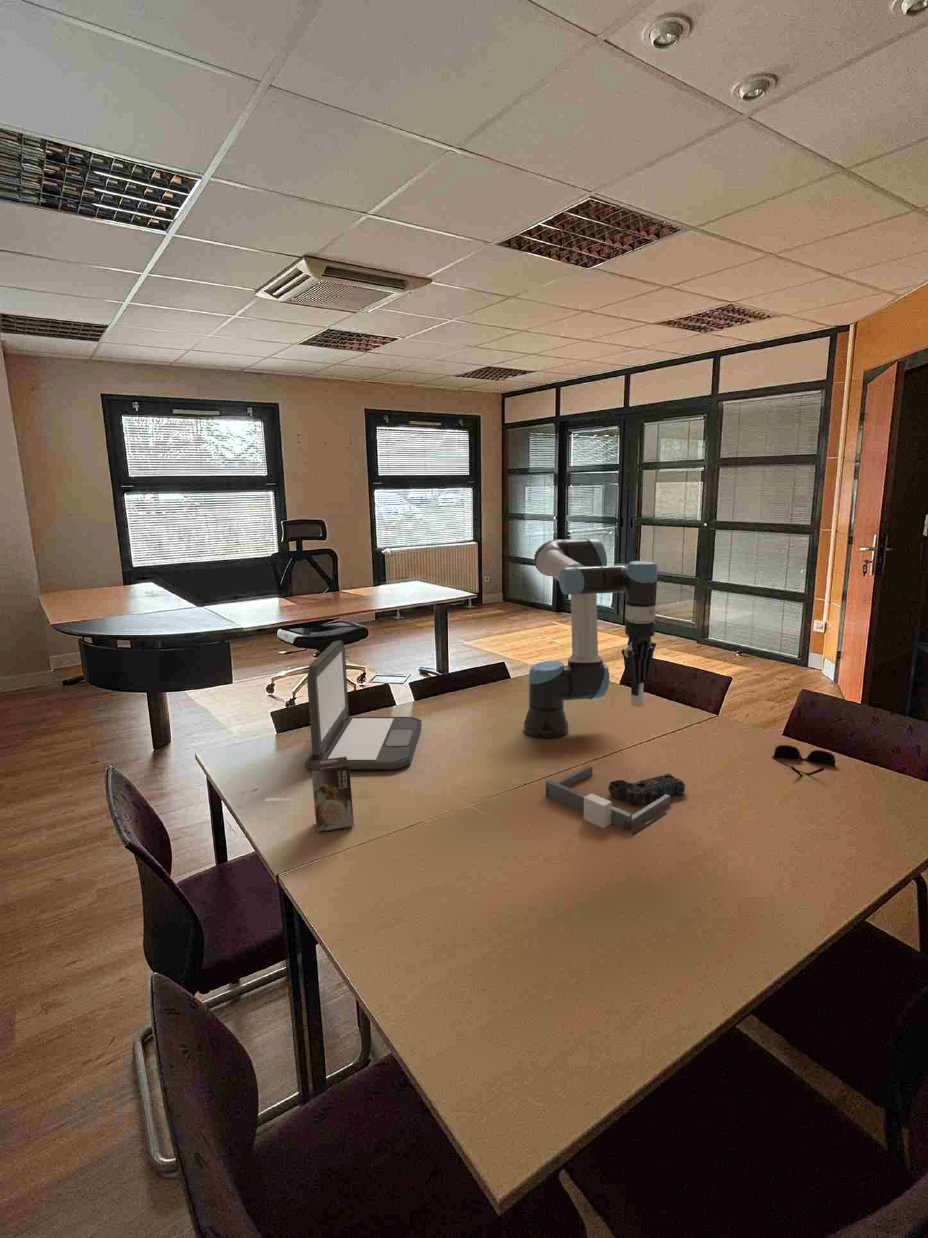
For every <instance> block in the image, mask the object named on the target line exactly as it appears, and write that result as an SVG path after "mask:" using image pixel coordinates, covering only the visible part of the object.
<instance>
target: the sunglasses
mask: <svg viewBox="0 0 928 1238" xmlns="http://www.w3.org/2000/svg"><path fill="white" fill-rule="evenodd" d="M771 757H772V760H774V761H775V762H776V761H777V762H778V761H779V762H778V763H781V764H782V765H784V766H786V767H788V766H789V767H788V768H789V769H791V770H792V771H793V772H795V773H796V774H797V775H798V776H800V777H802V776H801V775H807V776H812V775H815V774H818V773H821V772H823V771H825V767H824V766H822V767H821V768H818V769H816V770H813V771H811V772H804V771H800V770H798V769H796V768H795V767H794V766H793V765H791V766H790V765H789V764H786V763H785V762H782V761H781V760H779V759H783V760H784V759H785V760H793V759H800V760H799V761H805V762H810V763H815V764H816V763H817V764H819V765H826V766H831V767H836V758H835V755H834V754H833V753H831V752H829V751H825V750H819V749H817V750H812V751H811V752H809V754H808V755H807V757H806V758H803V757H802V755H801V752H800V750H799V748H797V747H796V746H793V745H788V744H780V745H777V746H776V748H775V749H774V754H773V755H771ZM801 772H802V773H801Z"/></svg>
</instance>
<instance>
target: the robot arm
mask: <svg viewBox="0 0 928 1238" xmlns="http://www.w3.org/2000/svg"><path fill="white" fill-rule="evenodd" d="M533 563H534V566H535V568H536V569H537V571H538V572H539V573H540V574H542V575H544V576H546V577H552V578H554V579H555V580H557V581H558V583H559V588H560V591H561V593H562V594H563V595H568V596H569V595H570V612H571V613H570V616H571V651H572V652H571V653H572V654H571V656H570V657H569V658H568V659H567V665H565V664H564V662H562V661H560V660H559V661H558V660H546V661H541V662H538V663H535V664H534V665H533V666H531V667H530V669H529V673H528V680H527V681H528V710H527V712H526V715H525V718H524V719H525V720H524V721H523V731H524V732H525V734H527V735H529V736H532V737H535V738H539V739H554V738H556V739H557V738H560V737H563V736H565V735H566V734H568V733H569V721H567V717H566V714H565V709H564V703H565V701H573V700H593V699H600V698H602V697H604V696H605V695H606V693H607V691H608V689H609V686H610V672H609V670H610V669H609V666H608V665H607V664H606V663H604V661H603V658H602V657H601V656H600V655H599V647H598V646H599V645H598V644H599V643H598V642H599V641H598V637H599V636H598V599H597V598H598V596H597V594H615V593H617V594H618V593H625V595H626V598H625V599H626V600H625V601H626V602H625V615H624V616H625V617H624V618H625V619H626V621H625V624H624V625H625V626H624V627H625V628H624V629H625V630H624V633H625V635H626V636H627V637H628V641H627V647H626V648H622V649H621V655H622V657H623V663H624V672H625V681H626V682H628V683H630V684H631V688H630V694H631V695H630V696H631V697H630V700H631V701H630V705H631V706H633V707H637V708H641V707H644V685H645V684H647V683H648V682H649V680H648V679H649V678H650V675H651V669H652V663H653V659H654V652H655V649H656V647H657V646H656V645H657V643H656V642H653V641H652V637H653V636H654V635H655V630H656V622H655V620H656V613H657V611H656V604H657V590H658V578H659V577H658V565H657V563H656V562H653V561H649V560H632V561H629V563H626V562H625V563H621V562H620V563H616V564H613V565H608V557H607V551H606V549H605V546H604V545H603V543H602V542H601V541H600V540H599V539H597V538H587V537H584V538H571V539H569V538H568V539H567V538H566V539H564V538H563V539H559V538H558V539H552V540H549V541H546V542H545V543H543V544H541V545H540V546H539V547H538V548H537V549H536V552H535V554H534V557H533Z"/></svg>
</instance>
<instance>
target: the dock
mask: <svg viewBox="0 0 928 1238" xmlns="http://www.w3.org/2000/svg"><path fill="white" fill-rule="evenodd" d="M593 768H594V767H593V766H592V765H590V764H589V765H587V766H585V767H583V768H581V769H579V770H577V771H574V772H572V773H571V774H568V775H567V776H564V777H562V778H561V779H559V780H556V781H553V780H552V779H548V780H546V781H545V796H547V797H548V798H550V799H553V800H555V801H558V802H560V803H562V804H565V805H567V806H569V807H571V808H573V809H575V810H577V811H580V812H582V813H583V820H584V821H586V822H589V823H591V824H593V825H595V826H597V827H600V828H602V829H604V828H606V827H608V826H609V825H613V826H616V827H618V828H619V829H620V828H621V829H622V830H625V831H627V832H629V831H630V830H632V829H634V828H635V827H637V826H638V825H639V824H641V823H642V822H644V821H646V820H647V819H649V818H651V817H652V816H653V815H654V814H657V813H658V812H660V811H661V810H663V809H664V808H665V807H668V806H669V805H670V804H671V797H670V795H667V794H665V795H664V796H662V797H661V798H659V799H657V800H656V801H653V802H650V804H649V803H648V805H646V806H645V807H643V808H642V809H640V810H638V811H637V812H635V813H633V814H632V813H630V812H628V811H625V810H623V809H621V808H618V807H616V806H613V805H612V804H613V803H612V802H613V801H611V800H609V799H606V798H604V797H601V796H598V795H596V794H594V793H589V794H588V795H587V794H584V793H583V792H580V791H577V790H575V789H573V788H570V787H572V786H573V785H575V784H577V783H580V782H581V781H583V780H584V779H585V780H586V779H587V778H588V777H590V776H593V774H594V773H593V770H594V769H593ZM666 814H667V812H666V811H665V810H664V811H663V812H661V813H660V814H658V815H656V816H654V817H653V818H652V819H650V820H649V821H646V822H645V823H644V824H642V825H641V826H639V827H638V828H636V829H635V830H634V831H631V833H630V834H631V836H635V835H637V834H638V833H640V832H641V831H642V830H644V829H646V828H647V827H649V826H650V825H652V824H653V823H655V822H656V821H658V820H659V819H661V818H662V817H663V816H665V815H666Z"/></svg>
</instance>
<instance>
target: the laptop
mask: <svg viewBox="0 0 928 1238" xmlns="http://www.w3.org/2000/svg"><path fill="white" fill-rule="evenodd" d="M346 659H347V658H346V649H345V646H344V643H343V640H335V641H334V640H333V641H332V643H330V644H329V646H327V648H325V649H324V650H323V651H322V652H321V653H320V654H318V656H317V657H316V658H315V659H314V660H313V661H312V662H311V663H310V664H309V665H308V670H307V678H306V679H307V683H306V685H307V696H308V697H307V699H308V708H309V709H308V711H309V712H308V713H309V726H310V739H311V750H312V751H311V754H310V756H309V757H308V759H307V760H306V762H305V763H304V768H305V769H311V761H316V760H324V759H331V758H339V757H347V760H348V763H349V770H396V769H402V768H405V767H407V766H410V765H411V764H412V761H413V758H414V754H415V750H416V748H417V744H418V741H419V737H420V735H421V732H422V725H423V724H422V719H419V718H416V717H414V716H350V713H349V711H350V710H349V696H348V695H349V693H348V678H347V663H346V662H347V661H346Z"/></svg>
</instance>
